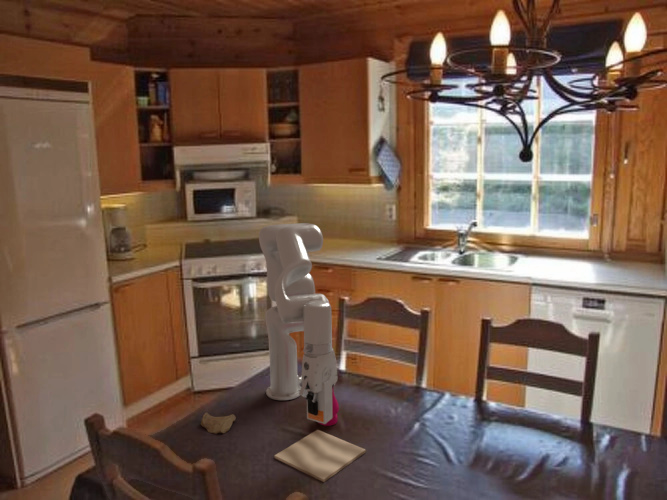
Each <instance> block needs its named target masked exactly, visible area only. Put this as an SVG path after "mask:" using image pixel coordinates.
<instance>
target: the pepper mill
mask: <svg viewBox="0 0 667 500" xmlns="http://www.w3.org/2000/svg"><path fill="white" fill-rule="evenodd" d="M335 385H336V383H335V384H334V386H333V388H332V415H333V417H332V419H331V420H329V421H328V422H327V423H326V424H323V423H319V422H317V424H319V425H321V426H324V427H329V426H334V425H335V424H337V423H338V413H339V411H340V406H339V402H338V400H337V398H336V396H335V393H334V392H335V390H334V387H335Z"/></svg>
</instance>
